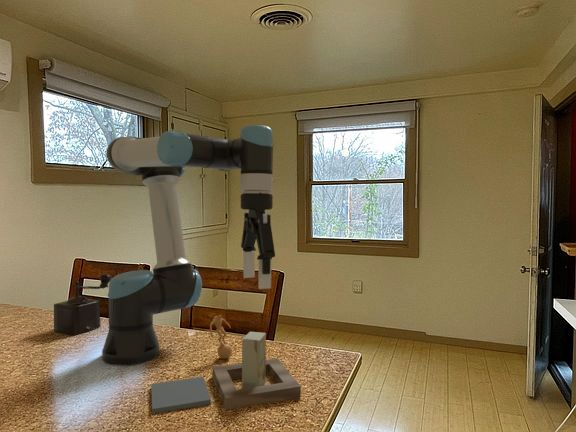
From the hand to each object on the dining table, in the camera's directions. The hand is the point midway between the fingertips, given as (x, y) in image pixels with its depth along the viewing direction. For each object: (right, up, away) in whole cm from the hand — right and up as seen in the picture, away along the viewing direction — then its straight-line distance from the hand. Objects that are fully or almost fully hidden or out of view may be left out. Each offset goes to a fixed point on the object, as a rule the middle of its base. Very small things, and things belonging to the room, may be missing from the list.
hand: (256, 282), depth 94 cm
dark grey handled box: (-63, -23, +44) cm, 80 cm away
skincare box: (-1, -25, 0) cm, 25 cm away
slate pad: (-17, -25, -5) cm, 30 cm away
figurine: (-11, -24, +18) cm, 32 cm away
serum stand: (-1, -25, 0) cm, 25 cm away
